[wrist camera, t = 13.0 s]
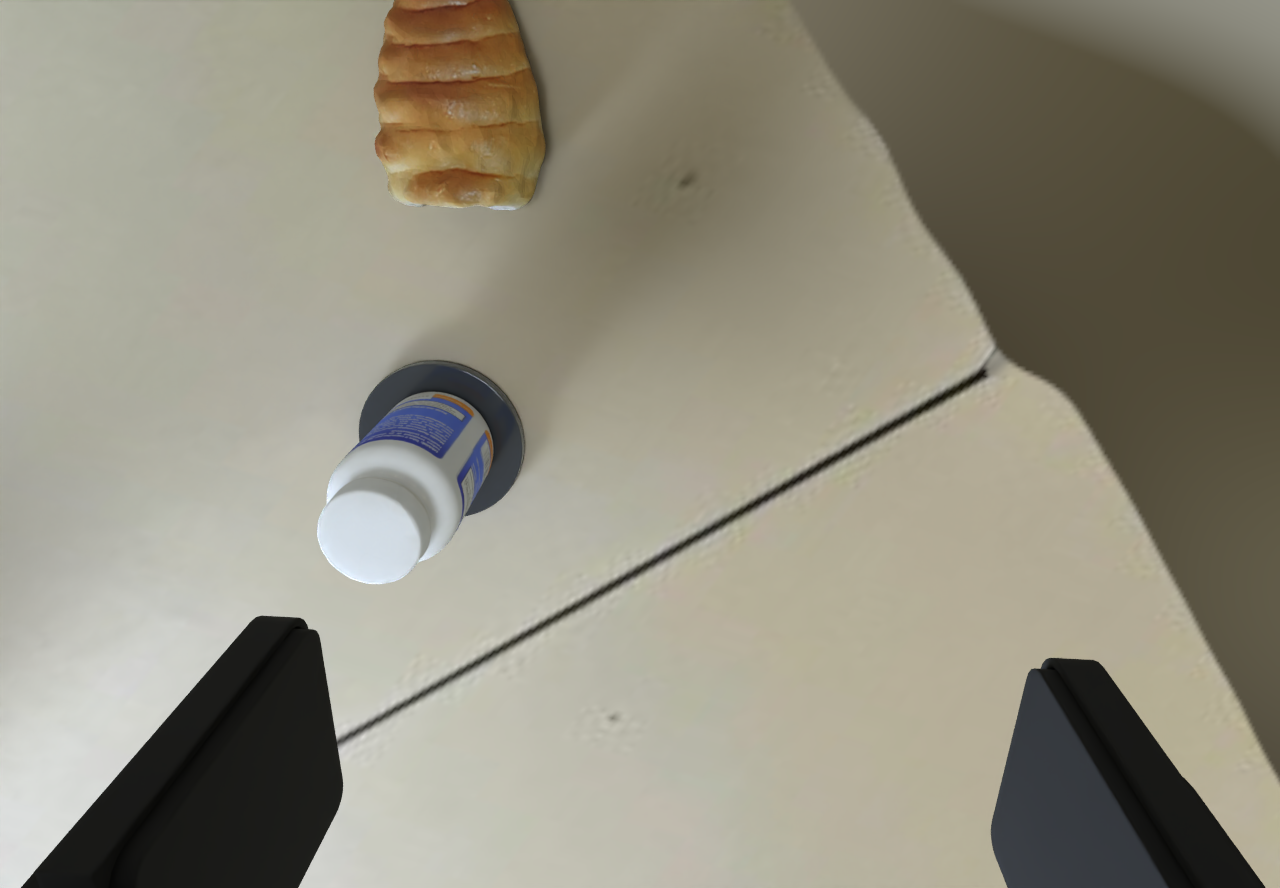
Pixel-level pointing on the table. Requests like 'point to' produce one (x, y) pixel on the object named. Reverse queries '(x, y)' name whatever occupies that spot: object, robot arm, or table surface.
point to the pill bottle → (405, 488)
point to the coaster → (475, 393)
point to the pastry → (457, 106)
